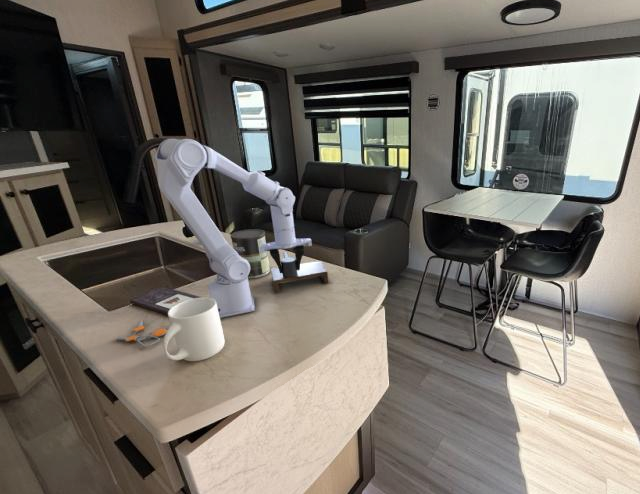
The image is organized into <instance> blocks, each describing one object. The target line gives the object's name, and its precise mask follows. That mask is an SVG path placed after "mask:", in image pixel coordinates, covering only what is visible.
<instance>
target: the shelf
mask: <svg viewBox="0 0 640 494" xmlns="http://www.w3.org/2000/svg"><path fill="white" fill-rule="evenodd" d="M270 273H271V274H270V275H271V280H272V285H273V289H274V293H275V294H277V293H280V285H279V284H282V283H287V282H292V281H297V280H305V279H310V278H315V277H320V279H321V280H322V282H323V283H324V284H329V276H328V275H329V274H328V271H327V268H326V267H325V265H324V264H323V263H322V261H321V260H318V261H312V262H304V263H300V270H298V271H297V273H298V274H297V275H296V276H294V277H290V278H286V277H283V275H282V273H280V271H279V268H278V267H273V268H270Z"/></svg>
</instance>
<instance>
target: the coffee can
mask: <svg viewBox="0 0 640 494" xmlns="http://www.w3.org/2000/svg"><path fill="white" fill-rule="evenodd" d="M230 239H231V244H232V248H233V249H234V250H235V251H236V252H237V253H238V254H239V256H240V257H242V258H244V259H246V260H247V261H248V262H249V264H250V273H249V275H248V280H250V279H258V278H262V277H264V276H267V275H268V274H269V273H271V268H270V262H269V255H268V251H266V252H264V253H261V252H260V246H259V245H261V244H266V243H267V241H266V232H265V230H263V229H256V228H255V229H254V228H252V229H242V230H238V231H235V232H233V233H231V234H230Z"/></svg>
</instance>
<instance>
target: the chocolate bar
mask: <svg viewBox="0 0 640 494" xmlns="http://www.w3.org/2000/svg"><path fill="white" fill-rule="evenodd" d="M195 298H203V296H198V295H195V294H191V293H189V292H184V291H181V290H176V289H173V288H169V287H166V286H161V287H159V288H156V289H153V290H151V291H149V292H146V293H144V294H141V295H138V296H136V297H134V298H131V299H129V302H130V304H133V305H136V306H139V307H142V308H144V309H148V310H150V311H154V312H158V313H161V314H164V315H167V316H168V311H169V310H170V309H171V308H172V307H173V306H175V305H177V304H179V303H181V302H184V301H187V300H190V299H195Z"/></svg>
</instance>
